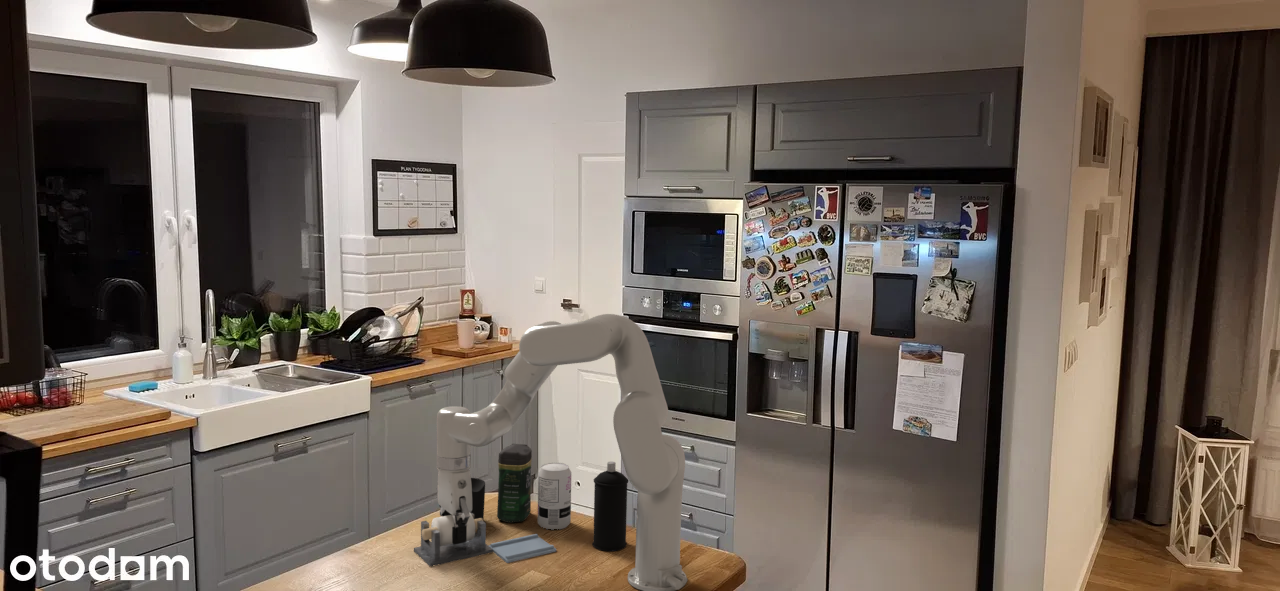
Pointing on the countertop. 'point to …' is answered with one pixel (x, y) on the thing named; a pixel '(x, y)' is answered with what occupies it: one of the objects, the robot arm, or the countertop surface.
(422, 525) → the holder
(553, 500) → the supplement can
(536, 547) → the rest
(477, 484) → the pen holder
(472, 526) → the paper roll
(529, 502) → the coffee jar
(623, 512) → the aerosol can
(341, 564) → the countertop surface
